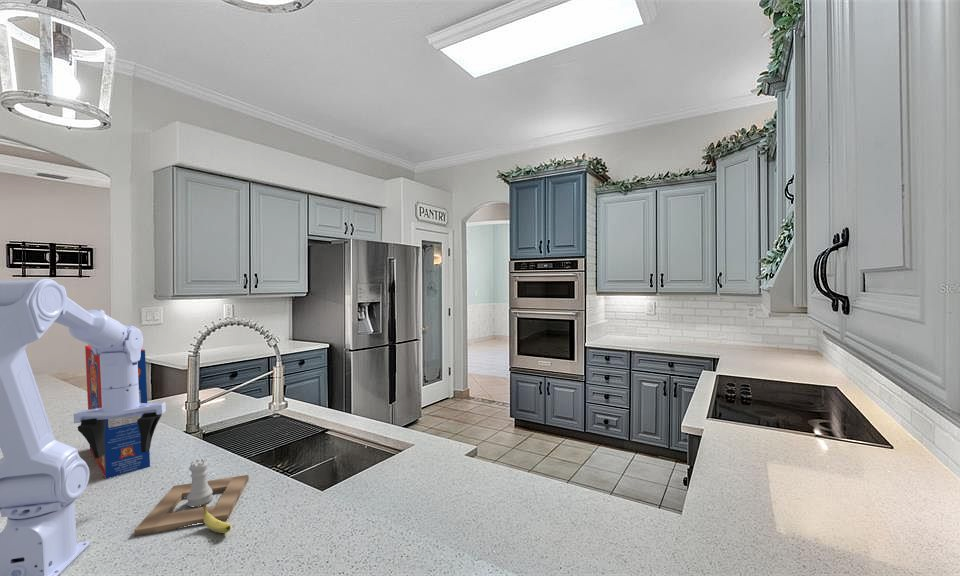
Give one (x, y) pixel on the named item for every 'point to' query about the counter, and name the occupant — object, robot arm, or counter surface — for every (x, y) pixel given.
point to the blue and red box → (118, 424)
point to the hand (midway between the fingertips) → (123, 453)
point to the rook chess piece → (199, 484)
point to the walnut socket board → (166, 520)
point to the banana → (215, 522)
